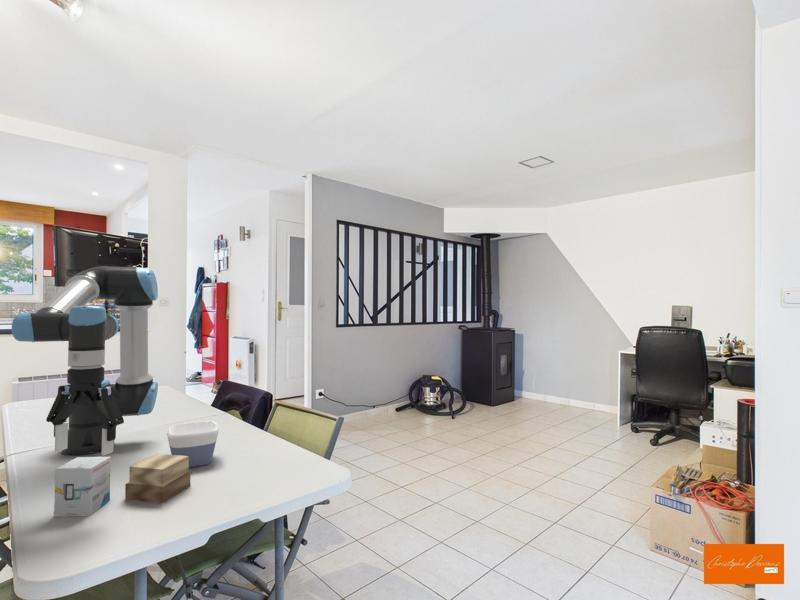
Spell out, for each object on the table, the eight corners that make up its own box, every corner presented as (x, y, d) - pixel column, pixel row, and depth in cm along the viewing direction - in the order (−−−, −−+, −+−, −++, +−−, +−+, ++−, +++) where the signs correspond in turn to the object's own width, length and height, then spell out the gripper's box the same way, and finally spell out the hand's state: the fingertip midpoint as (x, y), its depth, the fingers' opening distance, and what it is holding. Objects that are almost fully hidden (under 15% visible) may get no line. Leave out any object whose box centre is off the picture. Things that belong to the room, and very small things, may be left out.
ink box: (76, 501, 111) (77, 456, 111) (110, 500, 111) (111, 455, 111) (52, 517, 102) (53, 468, 102) (90, 516, 103) (91, 467, 103)
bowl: (165, 474, 129) (166, 437, 129) (166, 457, 142) (167, 424, 143) (220, 465, 136) (221, 431, 136) (216, 451, 149) (217, 419, 150)
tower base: (125, 501, 112) (125, 483, 112) (156, 484, 123) (156, 468, 123) (162, 504, 110) (162, 487, 110) (190, 487, 121) (190, 471, 121)
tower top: (129, 483, 112) (129, 466, 112) (157, 469, 122) (157, 453, 122) (162, 486, 110) (163, 469, 110) (188, 472, 120) (188, 456, 120)
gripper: (29, 367, 106) (27, 453, 105) (117, 370, 101) (114, 460, 101) (58, 363, 113) (56, 444, 112) (141, 366, 109) (139, 450, 108)
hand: (84, 452), depth 107 cm, fingers open, 13 cm apart
